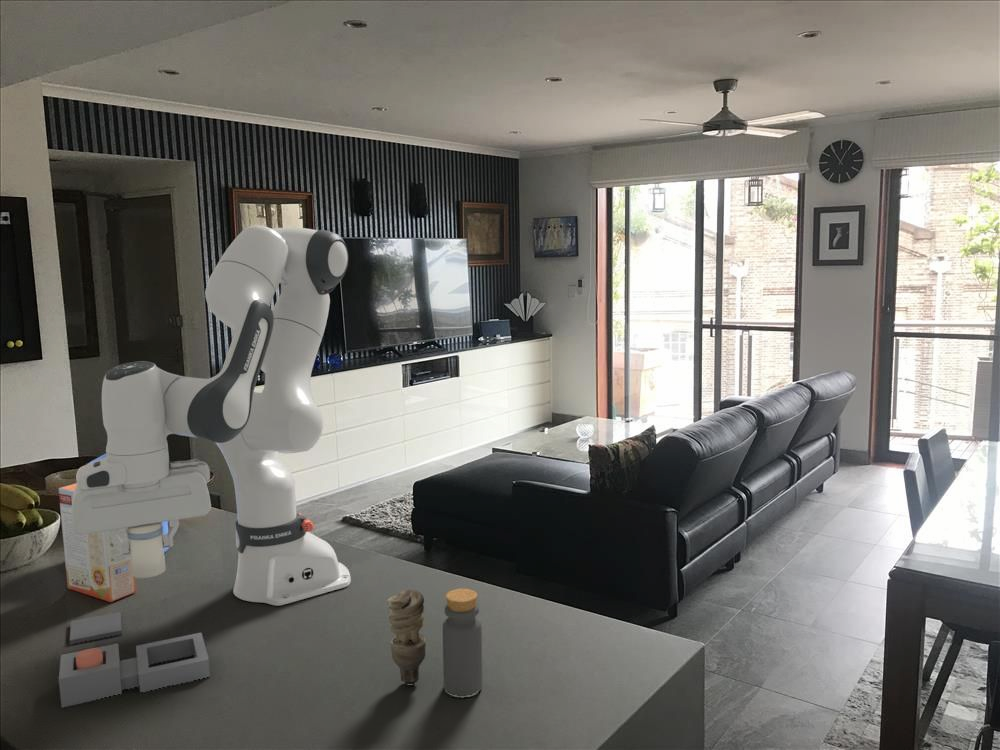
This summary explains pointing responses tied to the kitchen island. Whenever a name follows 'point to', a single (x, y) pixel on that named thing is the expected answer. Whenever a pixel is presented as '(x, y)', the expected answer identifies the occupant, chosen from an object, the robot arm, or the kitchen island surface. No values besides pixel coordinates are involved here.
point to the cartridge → (146, 550)
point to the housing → (133, 669)
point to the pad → (95, 628)
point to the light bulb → (407, 633)
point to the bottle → (462, 643)
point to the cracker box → (94, 558)
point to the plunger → (89, 658)
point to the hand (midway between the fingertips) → (146, 549)
